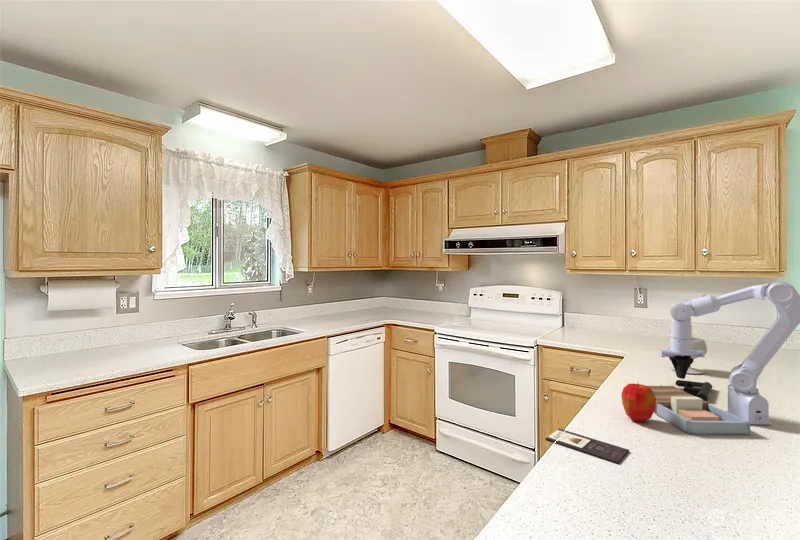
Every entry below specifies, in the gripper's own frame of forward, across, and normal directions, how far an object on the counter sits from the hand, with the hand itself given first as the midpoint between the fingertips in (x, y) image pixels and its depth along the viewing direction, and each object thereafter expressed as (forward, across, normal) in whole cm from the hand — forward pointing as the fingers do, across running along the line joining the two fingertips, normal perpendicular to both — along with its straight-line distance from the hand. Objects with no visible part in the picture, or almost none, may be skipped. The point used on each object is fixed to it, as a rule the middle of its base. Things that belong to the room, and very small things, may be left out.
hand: (680, 377), depth 131 cm
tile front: (+6, +6, +15) cm, 17 cm away
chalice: (+10, -34, -43) cm, 55 cm away
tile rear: (+6, +5, +9) cm, 12 cm away
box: (+9, +6, +16) cm, 19 cm away
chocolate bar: (+10, +46, +30) cm, 56 cm away
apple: (+10, +22, +13) cm, 28 cm away
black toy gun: (+10, -12, -14) cm, 21 cm away
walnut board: (+9, +5, 0) cm, 11 cm away
